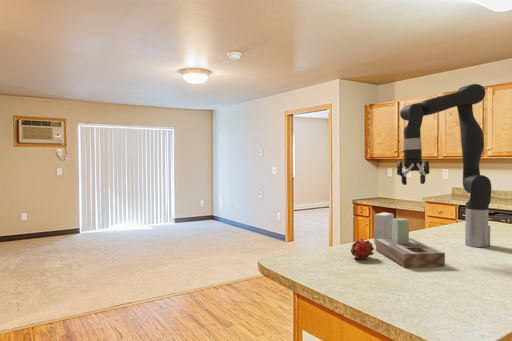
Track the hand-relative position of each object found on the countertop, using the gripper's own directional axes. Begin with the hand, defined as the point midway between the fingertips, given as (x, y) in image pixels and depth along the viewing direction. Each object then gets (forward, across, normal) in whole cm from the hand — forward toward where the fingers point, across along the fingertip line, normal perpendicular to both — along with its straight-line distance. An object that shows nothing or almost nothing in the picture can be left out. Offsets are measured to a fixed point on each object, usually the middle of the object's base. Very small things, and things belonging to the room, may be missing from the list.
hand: (413, 184), depth 166 cm
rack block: (+29, +12, +15) cm, 35 cm away
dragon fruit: (+29, +31, +14) cm, 44 cm away
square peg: (+28, +12, +8) cm, 32 cm away
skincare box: (+29, +10, -10) cm, 33 cm away
